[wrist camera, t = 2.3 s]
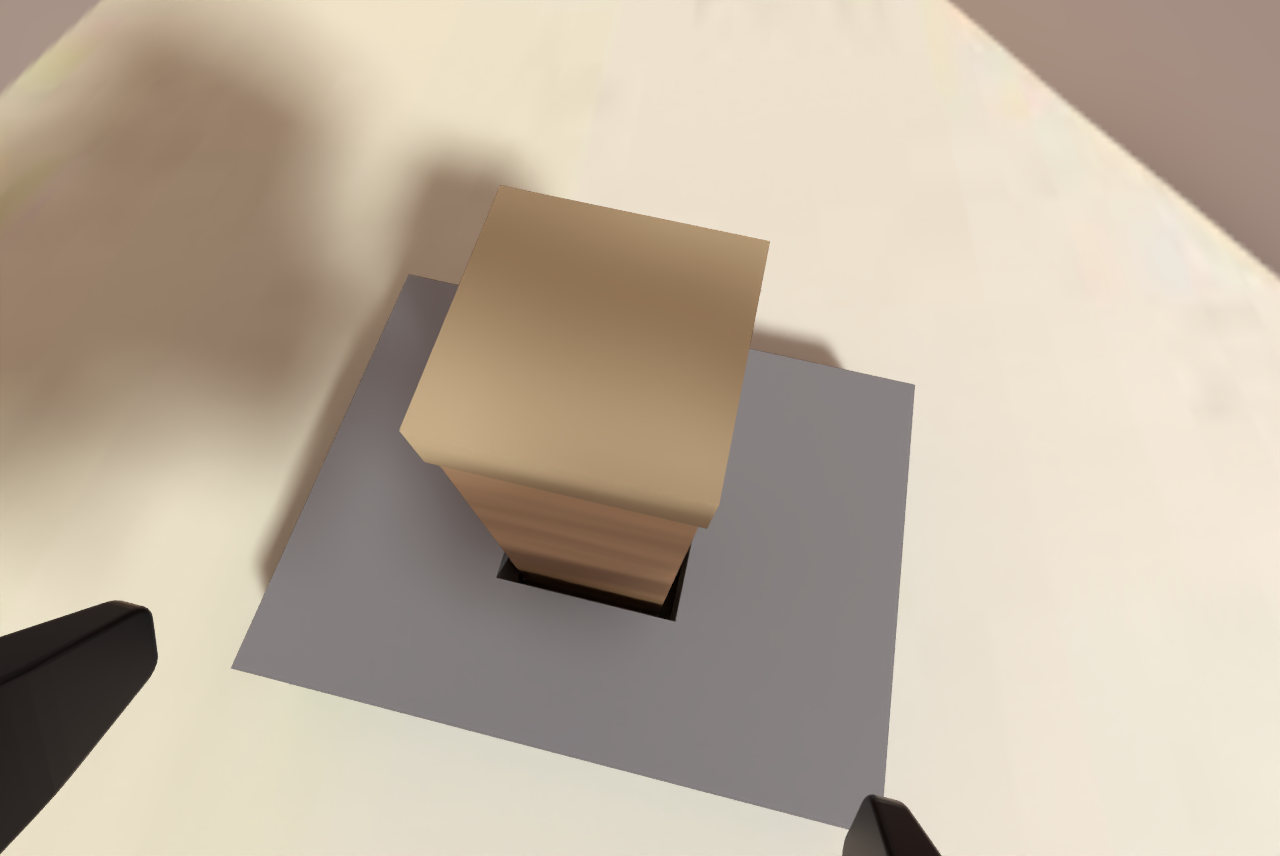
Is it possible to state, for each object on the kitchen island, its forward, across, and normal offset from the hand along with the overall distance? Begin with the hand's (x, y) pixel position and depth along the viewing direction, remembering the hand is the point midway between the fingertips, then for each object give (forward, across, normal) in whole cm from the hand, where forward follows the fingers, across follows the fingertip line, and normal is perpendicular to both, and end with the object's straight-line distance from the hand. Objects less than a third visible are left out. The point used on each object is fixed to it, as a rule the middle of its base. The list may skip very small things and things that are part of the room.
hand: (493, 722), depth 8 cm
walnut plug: (+12, 0, +5) cm, 13 cm away
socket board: (+12, 0, +5) cm, 13 cm away
